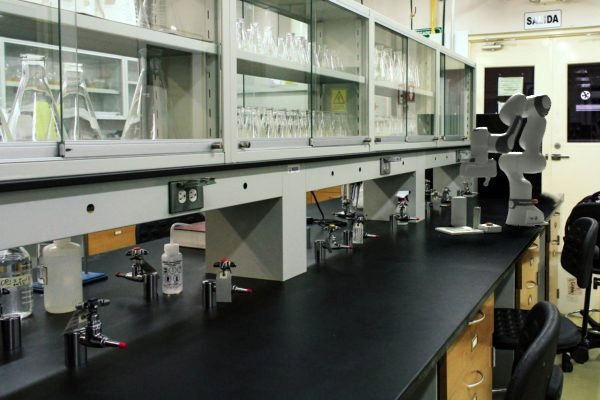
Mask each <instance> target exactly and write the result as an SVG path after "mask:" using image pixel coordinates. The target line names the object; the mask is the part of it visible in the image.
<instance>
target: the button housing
mask: <svg viewBox="0 0 600 400" xmlns="http://www.w3.org/2000/svg"><path fill="white" fill-rule="evenodd" d="M486 224H487V223H484V224H481V223H480V225H478V230H482V231H484V233H487V234H491V233H493V234H494V233H502V226H501V225H498V224H494V223H493V226H486Z"/></svg>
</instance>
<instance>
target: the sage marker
mask: <svg viewBox="0 0 600 400" xmlns="http://www.w3.org/2000/svg"><path fill="white" fill-rule="evenodd" d="M478 225H481V206H480V207H479V206H474V207H473V227H472V228H474V229H478Z"/></svg>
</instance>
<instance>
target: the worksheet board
mask: <svg viewBox="0 0 600 400" xmlns="http://www.w3.org/2000/svg"><path fill="white" fill-rule="evenodd" d="M434 230H435V231H437V232H441V233H445V234H448V235H452V236H455V235H474V234H484V233H485V232H484V231H482V230H478V229H474V228H473V227H470V226H467V225H466V226H464V227H455V226H451V227H450V226H447V227H435V229H434Z"/></svg>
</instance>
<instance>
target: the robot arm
mask: <svg viewBox="0 0 600 400" xmlns="http://www.w3.org/2000/svg"><path fill="white" fill-rule="evenodd" d="M551 108H552V100H551V98H550V97H549V96H548V95H547V94H545V93H539V94H534V95H529V96H526V95H525V94H523V93H521V92H517V93H514V94H511V95H510V97H509V98H508V99H507V100H506V101H505V103H504V104H503V105H502V107H501V108H500V109H499V113H498V114H499V119H500V120H501V122H502V123H503V124H505V125H506V126H508V129H507V130H506V132H505V133H491V132H490V131H488V127H486V126H485V127H484V126H482V127H481V126H480V127H476V128H473V129H472V132H471V135H470V152H469V155H467V156H465V157H462V158H461V159H460V162H461V164H460V165H459V176H460V178H465V181H466V183H467V187H472V186H473V182H471V178H485V181H483V186H484V187H487V186H489V182H490V180H491V178H494V177H497V174H498V171H497V160H496V159H494V158H489V153H492V154H493V153H495V154H501V155H500V157H499V158H498V166H499V169H500V170H501V171H503V172H504V174H505V175H506V176H507V179H508V182H509V199H508V214H507V216H506V217H507V218H506V222H505V224H507V225H511V226H518V225H519V226H520V227H523V226H524V227H536V226H535V225H540V226H547V225H549V222H548V221H545V215H544V212H542V211H541V210H540V209H539V208H538V207H536V206H535V204H538V202H539V201H538V199H533V198H532V194H533V193H532V191H533V190H532V189H533V185H532V184H531V182H530V181H529V180H527V179H526V178H525V177H524V174H537V173H542V172H543V171H544V170H545V169H546V167H547V158H546V157H545V155H544V154H543V153H542V152H541V146H542V145H541V144H542V142H543V138H544V136H545V133H546V129H547V124H548V122H547V118H546V117H547V116H548V114H549V113H550V110H551ZM525 118H527V119H526V121H527V122H526V123H525V126H524V127H523V130H522V132H521V136H520V138H519V140H518V143H519V146H520V147H521V148H522V149H523V150H524V151H522V152H520V151H519V152H518V151H517V152H516V151H513V152H512V150H513V149H514V148H515V147H514V146H515V142H516V139H517V136H518V135H519V132H520V131H521V128H522V125H523V120H524V119H525Z"/></svg>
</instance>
